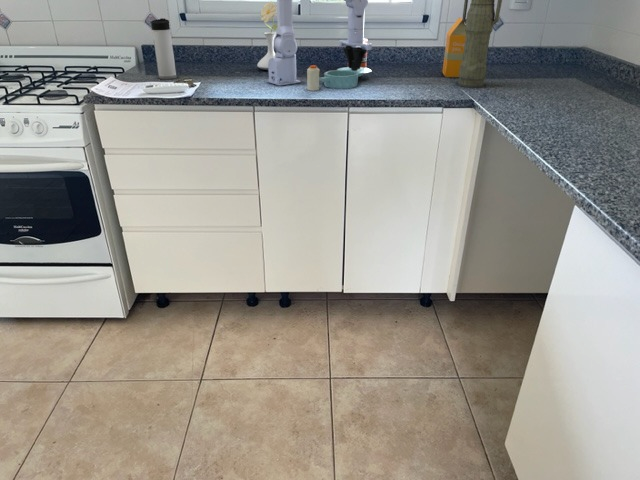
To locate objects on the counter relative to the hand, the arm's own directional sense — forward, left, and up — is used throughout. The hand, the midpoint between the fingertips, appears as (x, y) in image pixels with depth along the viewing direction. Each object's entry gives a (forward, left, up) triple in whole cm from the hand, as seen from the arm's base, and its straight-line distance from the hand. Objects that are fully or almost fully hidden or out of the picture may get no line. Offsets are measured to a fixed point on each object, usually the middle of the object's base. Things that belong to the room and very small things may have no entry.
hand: (354, 68), depth 181 cm
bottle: (-24, -7, -3) cm, 25 cm away
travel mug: (-56, +41, -3) cm, 69 cm away
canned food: (+15, +16, -3) cm, 22 cm away
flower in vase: (-16, +32, -3) cm, 36 cm away
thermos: (+25, -34, -3) cm, 42 cm away
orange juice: (+35, -18, -3) cm, 40 cm away
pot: (-12, -7, -3) cm, 14 cm away
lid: (0, 0, -1) cm, 1 cm away
